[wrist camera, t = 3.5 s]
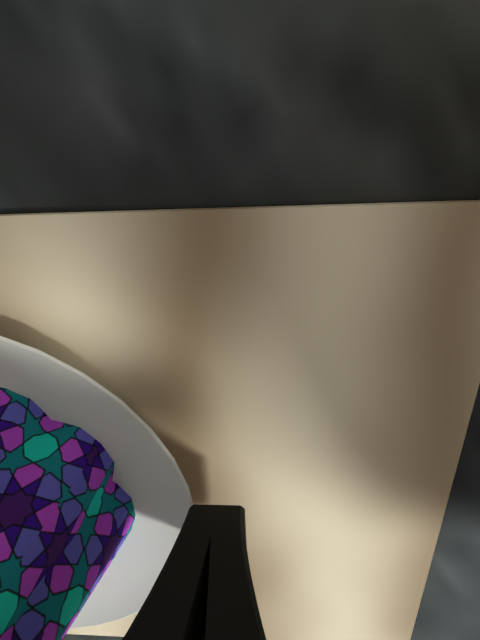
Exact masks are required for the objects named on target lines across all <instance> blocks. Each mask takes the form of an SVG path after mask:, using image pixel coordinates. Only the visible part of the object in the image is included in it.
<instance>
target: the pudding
mask: <svg viewBox="0 0 480 640" xmlns="http://www.w3.org/2000/svg"><path fill="white" fill-rule="evenodd" d="M192 505H193V501H192V497H191V494H190V490H189V487H188V485H187V483H186V481H185V479H184V477H183V475H182V473H181V471H180V469H179V467H178V465H177V463H176V461H175V459H174V457H173V456H172V455H171V453H170V452H169V451H168V449H167V448H166V447H165V446H164V444H163V443H162V442H161V440H160V439H159V438H158V436H157V435H156V434H155V432H154V431H153V430H152V429H151V428H150V427H149V426H148V425H147V424H146V423H145V422H144V421H143V420H142V419H141V418H140V417H139V416H138V415H137V414H136V413H135V412H134V411H133V410H131V409H130V408H129V407H128V406H127V405H126V404H125V403H124V402H123V401H122V400H121V399H119V398H118V397H117V396H115V395H114V394H112V393H111V392H110V391H108V390H107V389H105V388H104V387H103V386H101V385H100V384H98V383H97V382H95V381H94V380H93V379H91V378H90V377H88V376H87V375H86V374H84V373H83V372H81V371H79V370H77V369H75V368H73V367H71V366H69V365H67V364H65V363H63V362H62V361H60V360H58V359H56V358H54V357H52V356H50V355H48V354H46V353H44V352H42V351H41V350H38V349H35V348H33V347H30V346H27V345H24V344H22V343H19V342H16V341H13V340H11V339H8V338H5V337H2V336H0V640H62V639H63V638H64V636H65V635H66V633H67V632H68V630H69V628H78V627H87V626H95V625H100V624H104V623H108V622H112V621H116V620H120V619H123V618H126V617H128V616H130V615H133V614H135V613H137V612H139V610H140V609H141V607H142V605H143V603H144V602H145V600H146V598H147V596H148V595H149V593H150V591H151V589H152V587H153V585H154V583H155V581H156V579H157V577H158V576H159V574H160V572H161V570H162V568H163V566H164V564H165V562H166V560H167V558H168V556H169V554H170V552H171V550H172V548H173V546H174V544H175V541H176V539H177V537H178V535H179V533H180V530H181V528H182V525H183V523H184V521H185V518H186V516H187V513H188V510H189V508H190V507H191V506H192Z"/></svg>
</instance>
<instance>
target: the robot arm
mask: <svg viewBox="0 0 480 640" xmlns="http://www.w3.org/2000/svg"><path fill="white" fill-rule="evenodd" d="M122 640H266V636H265V632H264V629H263V625H262V621H261V617H260V613H259V609H258V605H257V600H256V595H255V591H254V586H253V581H252V577H251V571H250V566H249V560H248V553H247V542H246V522H245V509H244V508H243V507H242V506H241V505H199V504H193V505H192V506H191V507H190V508H189V510H188V513H187V516H186V518H185V521H184V523H183V525H182V528H181V530H180V533H179V535H178V537H177V539H176V541H175V544H174V546H173V548H172V550H171V552H170V554H169V556H168V558H167V560H166V562H165V564H164V566H163V568H162V570H161V572H160V574H159V576H158V577H157V579H156V581H155V583H154V585H153V587H152V589H151V591H150V593H149V595H148V596H147V598H146V600H145V602H144V603H143V605H142V607H141V609H140V610H139V612H138V614H137V615H136V617H135V619H134V621H133V622H132V624H131V626H130V627H129V629H128V631H127V633H126V634H125V636H124V638H123V639H122Z"/></svg>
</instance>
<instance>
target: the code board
mask: <svg viewBox="0 0 480 640" xmlns="http://www.w3.org/2000/svg"><path fill="white" fill-rule="evenodd" d="M0 336H2V337H5V338H8V339H11V340H13V341H16V342H19V343H22V344H24V345H27V346H30V347H33V348H35V349H38V350H41V351H42V352H44V353H46V354H48V355H50V356H52V357H54V358H56V359H58V360H60V361H62V362H63V363H65V364H67V365H69V366H71V367H73V368H75V369H77V370H79V371H81V372H83V373H84V374H86V375H87V376H88V377H90V378H91V379H93V380H94V381H95V382H97V383H98V384H100V385H101V386H103V387H104V388H105V389H107V390H108V391H110V392H111V393H112V394H114V395H115V396H117V397H118V398H119V399H121V400H122V401H123V402H124V403H125V404H126V405H127V406H128V407H129V408H130V409H131V410H133V411H134V412H135V413H136V414H137V415H138V416H139V417H140V418H141V419H142V420H143V421H144V422H145V423H146V424H147V425H148V426H149V427H150V428H151V429H152V430H153V431H154V432H155V434H156V435H157V436H158V438H159V439H160V440H161V442H162V443H163V444H164V446H165V447H166V448H167V449H168V451H169V452H170V453H171V455H172V456H173V457H174V459H175V461H176V463H177V465H178V467H179V469H180V471H181V473H182V475H183V477H184V479H185V481H186V483H187V485H188V487H189V490H190V494H191V497H192V501H193V504H199V505H241V506H242V507H243V508H244V509H245V522H246V542H247V553H248V560H249V566H250V571H251V577H252V581H253V586H254V591H255V595H256V600H257V605H258V609H259V613H260V617H261V621H262V625H263V629H264V632H265V636H266V640H410V638H411V635H412V631H413V627H414V624H415V620H416V616H417V613H418V609H419V605H420V602H421V598H422V594H423V590H424V587H425V583H426V579H427V576H428V572H429V568H430V565H431V561H432V557H433V554H434V550H435V546H436V542H437V539H438V535H439V531H440V528H441V524H442V520H443V517H444V513H445V509H446V506H447V502H448V498H449V495H450V491H451V487H452V483H453V480H454V476H455V472H456V469H457V465H458V461H459V458H460V454H461V450H462V447H463V443H464V439H465V435H466V432H467V428H468V424H469V421H470V417H471V413H472V410H473V406H474V402H475V399H476V395H477V391H478V388H479V384H480V200H460V201H426V202H393V203H360V204H327V205H293V206H260V207H227V208H193V209H160V210H127V211H93V212H60V213H27V214H0ZM137 614H138V612H137V613H135V614H133V615H130V616H128V617H126V618H123V619H120V620H116V621H112V622H108V623H104V624H100V625H95V626H87V627H78V628H69V630H68V632H67V633H66V634H80V635H100V636H121V637H124V636H125V634H126V633H127V631H128V629H129V627H130V626H131V624H132V622H133V621H134V619H135V617H136V615H137Z"/></svg>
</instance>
